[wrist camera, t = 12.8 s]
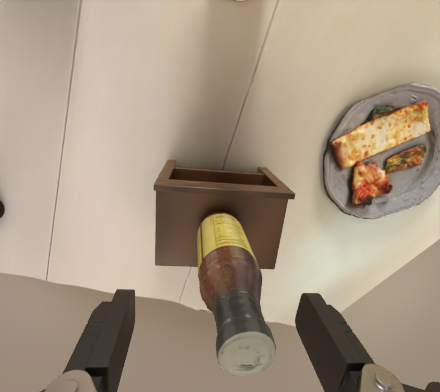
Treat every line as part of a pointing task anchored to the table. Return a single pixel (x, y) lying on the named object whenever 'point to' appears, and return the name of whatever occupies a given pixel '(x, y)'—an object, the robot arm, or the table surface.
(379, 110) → the food plate
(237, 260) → the sauce bottle
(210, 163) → the table surface
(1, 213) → the drinking cup
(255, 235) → the shelf
